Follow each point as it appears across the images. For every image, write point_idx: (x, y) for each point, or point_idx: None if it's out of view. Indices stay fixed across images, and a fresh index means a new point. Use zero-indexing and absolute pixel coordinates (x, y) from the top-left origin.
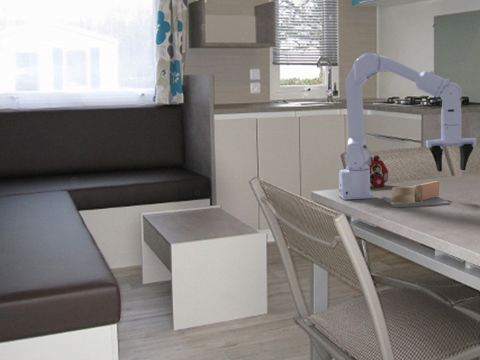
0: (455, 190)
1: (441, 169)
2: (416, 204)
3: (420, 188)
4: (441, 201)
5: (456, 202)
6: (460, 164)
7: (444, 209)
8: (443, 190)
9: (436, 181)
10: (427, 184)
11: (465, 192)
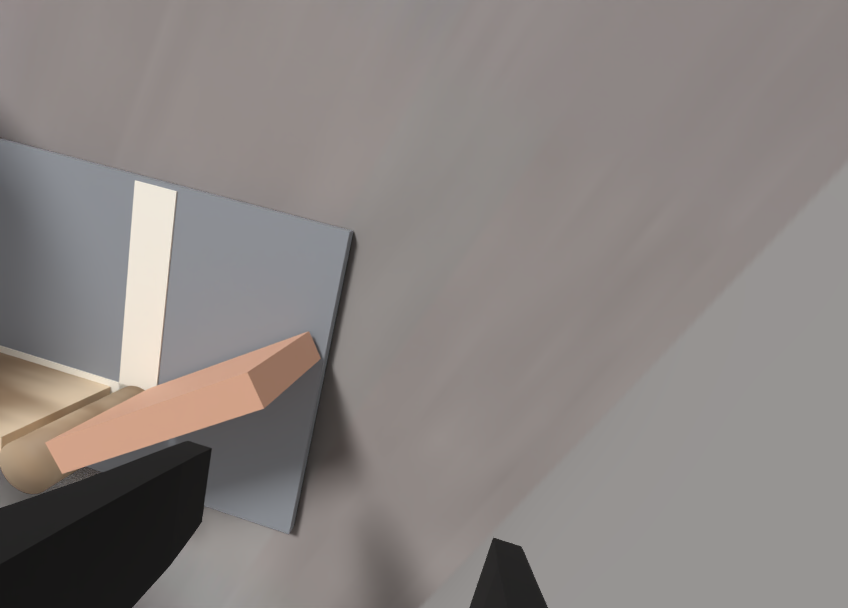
0: (662, 98)
1: (177, 546)
2: (99, 468)
3: (61, 478)
4: (264, 480)
5: (361, 502)
6: (497, 592)
7: (205, 602)
8: (570, 39)
9: (238, 404)
10: (123, 452)
11: (663, 234)
